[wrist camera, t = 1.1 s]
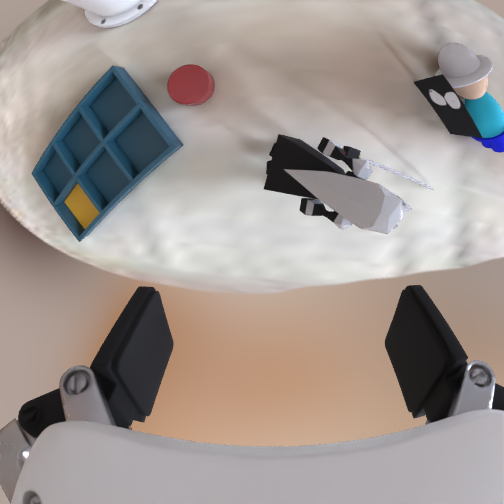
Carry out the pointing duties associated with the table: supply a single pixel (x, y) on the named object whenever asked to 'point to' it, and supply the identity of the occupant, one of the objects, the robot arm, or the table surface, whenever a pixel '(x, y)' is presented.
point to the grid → (103, 152)
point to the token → (190, 85)
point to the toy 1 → (334, 184)
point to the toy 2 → (465, 96)
